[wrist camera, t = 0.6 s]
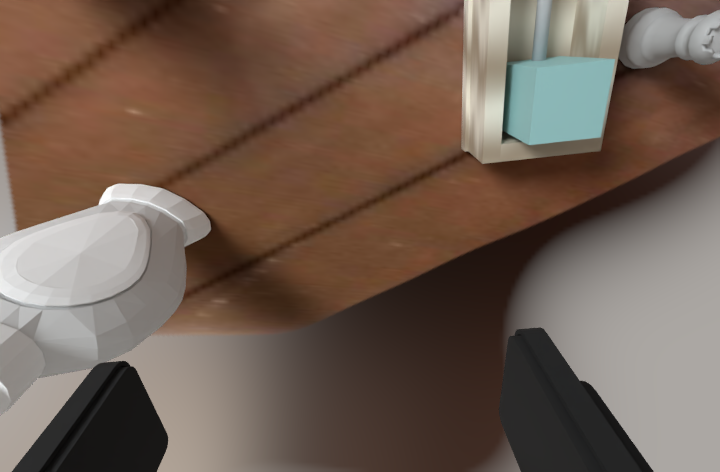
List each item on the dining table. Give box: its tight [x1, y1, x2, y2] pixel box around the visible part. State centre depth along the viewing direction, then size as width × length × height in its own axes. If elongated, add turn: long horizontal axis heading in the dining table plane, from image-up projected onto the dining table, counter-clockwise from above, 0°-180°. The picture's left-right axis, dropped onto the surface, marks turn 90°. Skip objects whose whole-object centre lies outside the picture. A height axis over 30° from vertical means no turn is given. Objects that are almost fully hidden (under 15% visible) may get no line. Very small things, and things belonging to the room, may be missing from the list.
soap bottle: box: [0, 184, 211, 415], centre depth 26 cm, size 13×8×24 cm, turn 68°
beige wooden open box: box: [461, 0, 629, 164], centre depth 29 cm, size 14×10×5 cm
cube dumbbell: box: [502, 0, 615, 145], centre depth 26 cm, size 18×5×8 cm, turn 6°
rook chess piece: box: [619, 7, 720, 69], centre depth 28 cm, size 4×4×8 cm
